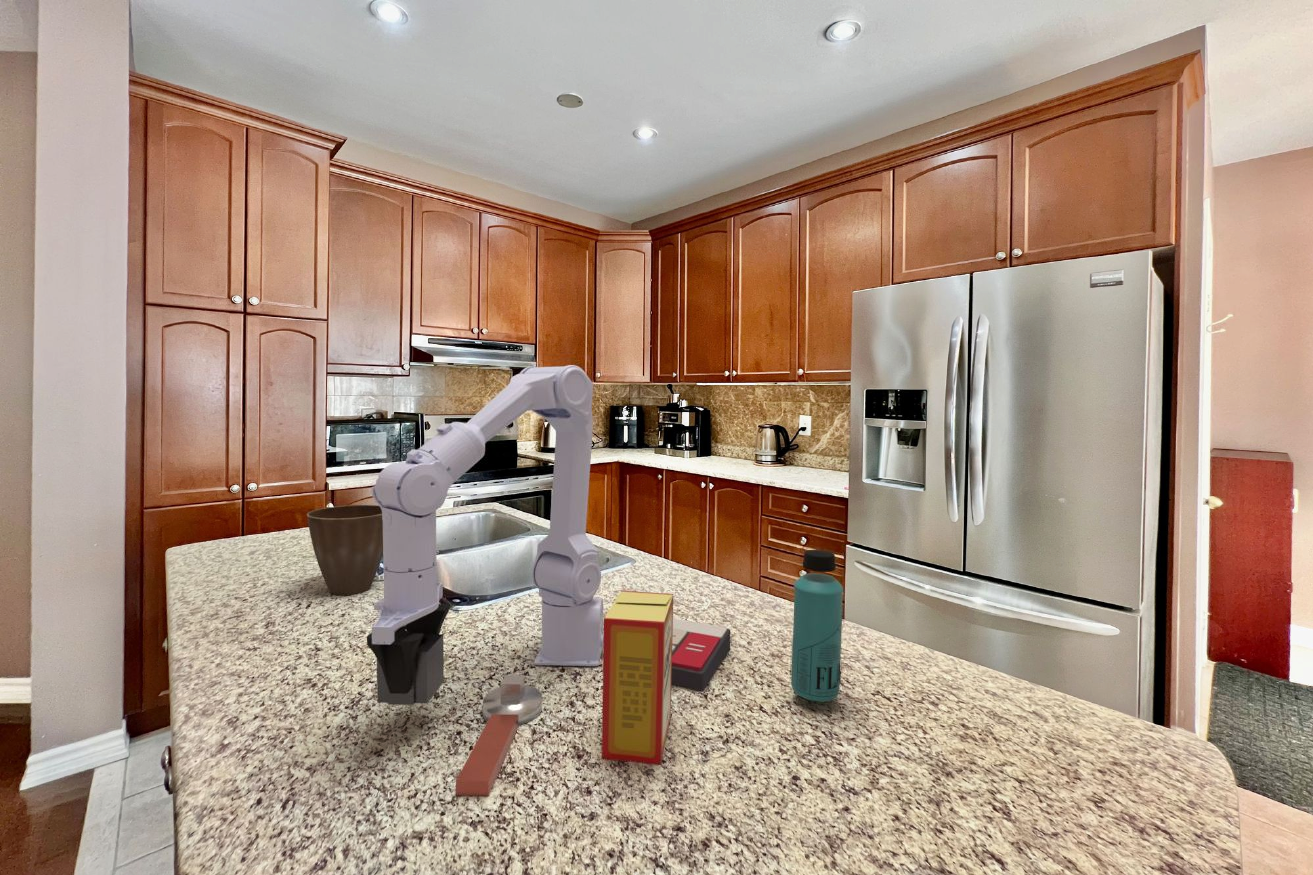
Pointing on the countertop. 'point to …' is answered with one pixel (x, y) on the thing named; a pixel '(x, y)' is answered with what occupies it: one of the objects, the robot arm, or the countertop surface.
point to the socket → (418, 674)
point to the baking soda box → (637, 677)
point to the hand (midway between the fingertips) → (411, 678)
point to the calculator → (697, 653)
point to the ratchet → (498, 733)
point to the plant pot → (347, 546)
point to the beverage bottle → (817, 630)
